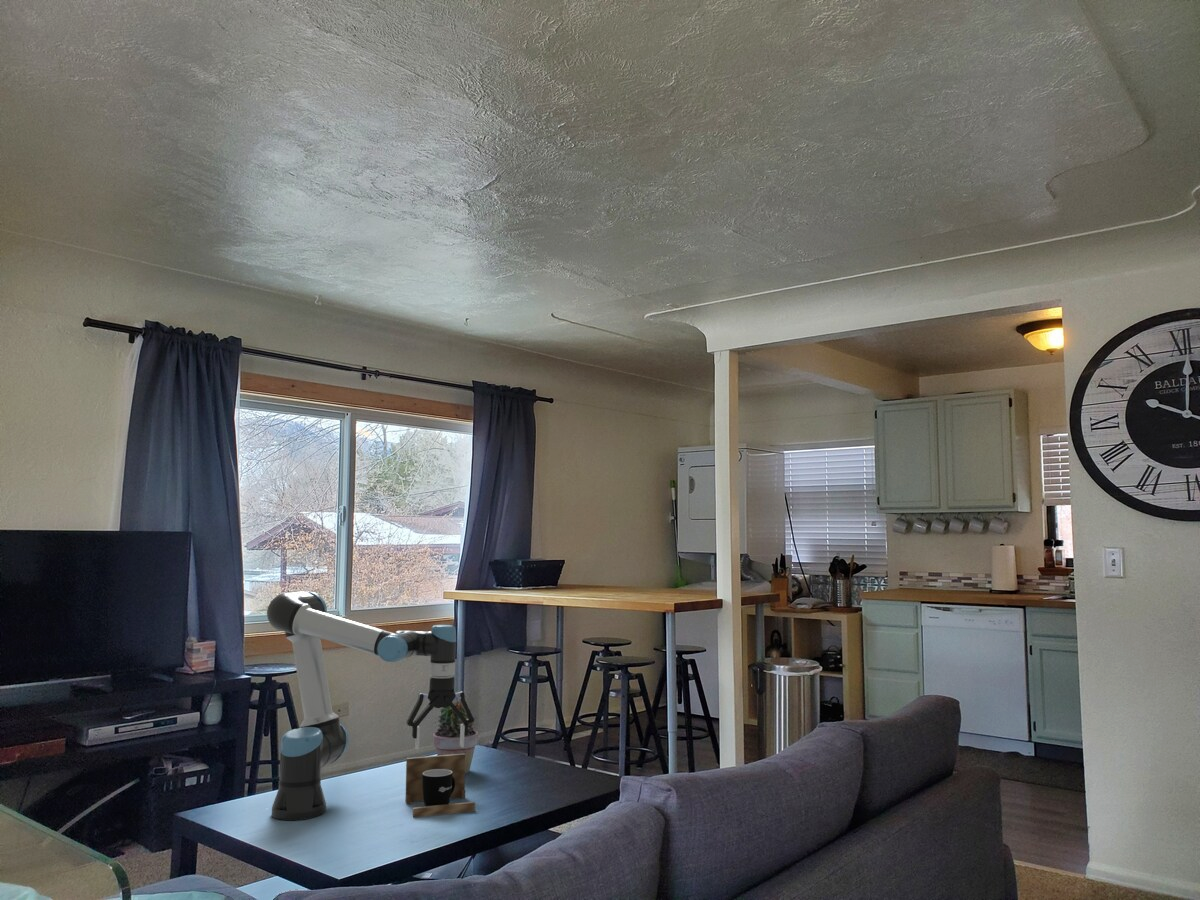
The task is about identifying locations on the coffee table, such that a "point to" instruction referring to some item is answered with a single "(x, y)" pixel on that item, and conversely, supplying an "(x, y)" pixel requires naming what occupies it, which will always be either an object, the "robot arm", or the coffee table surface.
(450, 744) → the potted plant
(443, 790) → the mug
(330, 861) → the coffee table surface
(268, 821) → the coffee table surface
